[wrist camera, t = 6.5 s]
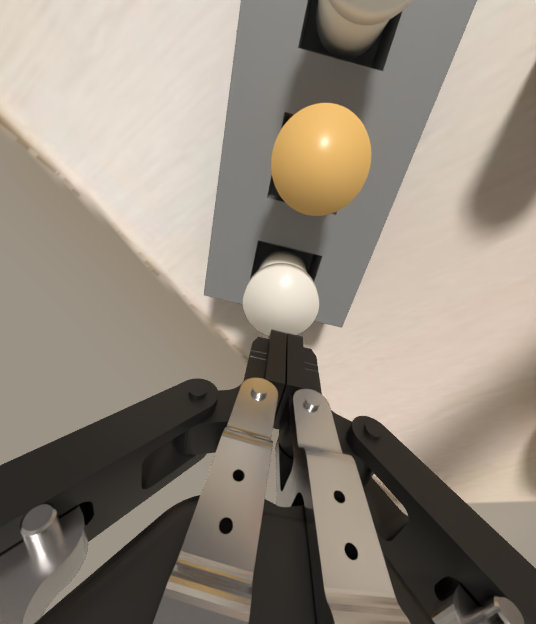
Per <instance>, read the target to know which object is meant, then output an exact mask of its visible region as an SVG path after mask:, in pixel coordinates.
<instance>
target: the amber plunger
mask: <svg viewBox="0 0 536 624" xmlns="http://www.w3.org/2000/svg"><path fill="white" fill-rule="evenodd" d="M370 164H371V144H370V139H369V136H368V133H367V131H366V129H365V127H364V125H363V123H362V122H361V120H360V119H359V118H358V117H357V116H356V115H355V114H354V113H353V112H352V111H350V110H349V109H347V108H345V107H343V106H341V105H338V104H333V103H318V104H314V105H310V106H308V107H306V108H303V109H302V110H300V111H299V112H297V113H296V114H294V115H293V116H292V117H291V118H290V119H289V120H288V121H287V122H286V123H285V125H284V126H283V128H282V129H281V131H280V133H279V134H278V136H277V139H276V141H275V144H274V147H273V151H272V158H271V171H272V177H273V181H274V184H275V187H276V189H277V191H278V193H279V195H280V196H281V198H282V199H283V200H284V201H285V203H287V204H288V205H289V206H290V207H291V208H293V209H294V210H296V211H298V212H300V213H303V214H306V215H311V216H323V215H328V214H331V213H334V212H337V211H338V210H340V209H342V208H344V207H345V206H346V205H348V204H349V203H350V202H351V201H352V200H353V199H354V198H355V197H356V196H357V195H358V193H359V192H360V190H361V189H362V187H363V185H364V183H365V181H366V179H367V176H368V173H369V170H370Z"/></svg>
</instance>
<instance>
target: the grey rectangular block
mask: <svg viewBox="0 0 536 624" xmlns="http://www.w3.org/2000/svg"><path fill="white" fill-rule="evenodd" d="M476 2H477V0H412V2H411V3H410V4H409V5H408V6H407V7H406V8H405V9H404V10H402V11H401V12H400V13H399V14H397V15H396V16H394V17H393V18H391V19H390V20H389V21H388V23H387V24H386V26H385V28H384V29H383V31H382V32H381V34H380V35H379V37H378V38H377V40H376V41H375V43H374V44H373V45H372V46H371V47H370V48H369V49H368V50H367V51H366V52H365V53H363V54H362V55H360V56H358V57H355V58H352V59H340V58H337V57H335V56H333V55H331V54H330V53H329V52H328V51H327V50H326V49H325V48H324V46H323V45H322V43H321V41H320V38H319V35H318V32H317V26H316V10H317V4H318V0H241V4H240V12H239V20H238V28H237V36H236V44H235V52H234V60H233V67H232V75H231V83H230V91H229V99H228V107H227V115H226V123H225V131H224V139H223V147H222V154H221V162H220V170H219V178H218V186H217V194H216V202H215V210H214V218H213V226H212V233H211V241H210V249H209V257H208V265H207V273H206V281H205V289H204V295H205V296H209V297H214V298H218V299H222V300H227V301H231V302H235V303H239V304H243V296H244V293H245V290H246V287H247V285H248V283H249V281H250V279H251V277H252V276H253V275H254V274H255V273H256V272H257V271H258V270H259V267H260V264H261V262H262V260H263V259H264V258H265V256H266V255H268V254H269V253H271V252H272V251H275V250H279V249H286V250H291V251H293V252H295V253H297V254H298V255H299V256H300V257H301V258H302V259H303V261H304V263H305V265H306V270H307V273H308V274H309V276H310V277H311V278H312V280H313V281H314V283H315V286H316V289H317V293H318V297H319V310H318V314H317V316H316V318H315V320H314V321H316V322H320V323H325V324H329V325H333V326H337V327H342V326H343V324H344V321H345V319H346V316H347V314H348V312H349V309H350V307H351V304H352V302H353V300H354V297H355V295H356V292H357V290H358V287H359V285H360V283H361V280H362V278H363V275H364V273H365V270H366V268H367V266H368V263H369V261H370V258H371V256H372V253H373V251H374V249H375V246H376V244H377V241H378V239H379V237H380V234H381V232H382V229H383V227H384V224H385V222H386V220H387V217H388V215H389V212H390V210H391V207H392V205H393V203H394V200H395V198H396V195H397V193H398V191H399V188H400V186H401V183H402V181H403V178H404V176H405V174H406V171H407V169H408V166H409V164H410V161H411V159H412V157H413V154H414V152H415V149H416V147H417V144H418V142H419V140H420V137H421V135H422V132H423V130H424V128H425V125H426V123H427V120H428V118H429V115H430V113H431V111H432V108H433V106H434V103H435V101H436V98H437V96H438V94H439V91H440V89H441V86H442V84H443V81H444V79H445V77H446V74H447V72H448V69H449V67H450V65H451V62H452V60H453V57H454V55H455V52H456V50H457V48H458V45H459V43H460V40H461V38H462V35H463V33H464V31H465V28H466V26H467V23H468V21H469V18H470V16H471V14H472V11H473V9H474V6H475V4H476ZM318 103H333V104H338V105H341V106H343V107H345V108H347V109H349V110H350V111H352V112H353V113H354V114H355V115H356V116H357V117H358V118H359V119H360V120H361V122H362V123H363V125H364V127H365V129H366V131H367V133H368V136H369V139H370V144H371V164H370V170H369V173H368V176H367V179H366V181H365V183H364V185H363V187H362V189H361V190H360V192H359V193H358V195H357V196H356V197H355V198H354V199H353V200H352V201H351V202H350V203H349V204H348V205H346V206H345V207H344V208H342V209H340V210H338V211H337V212H334V213H331V214H328V215H323V216H311V215H306V214H303V213H300V212H298V211H296V210H294V209H293V208H291V207H290V206H289V205H288V204H287V203H285V201H284V200H283V199H282V198H281V196H280V195H279V193H278V191H277V189H276V187H275V184H274V181H273V177H272V171H271V158H272V151H273V147H274V144H275V141H276V139H277V136H278V134H279V133H280V131H281V129H282V128H283V126H284V125H285V123H286V122H287V121H288V120H289V119H290V118H291V117H292V116H293V115H294V114H296V113H297V112H299V111H300V110H302V109H303V108H306V107H308V106H310V105H314V104H318Z"/></svg>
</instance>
